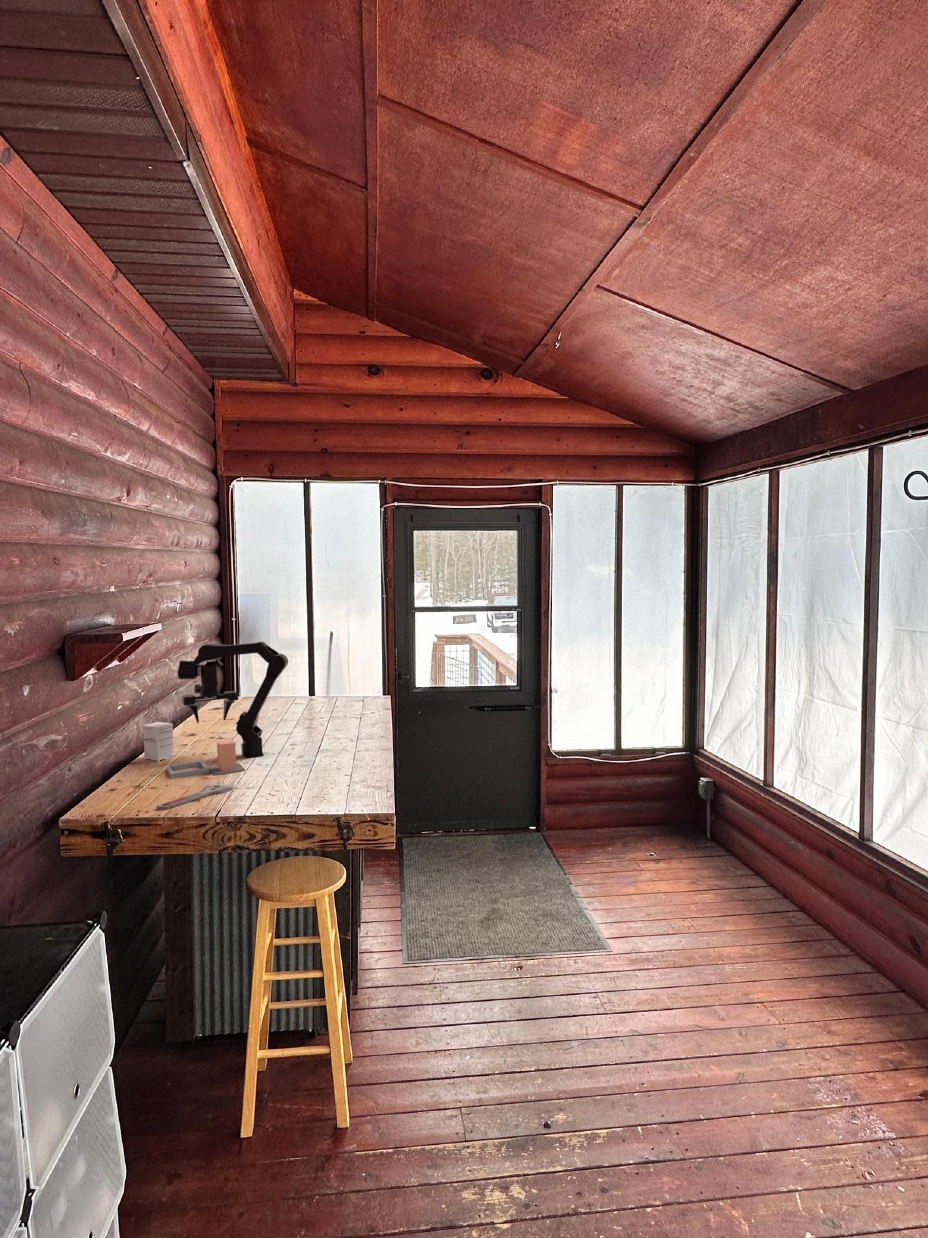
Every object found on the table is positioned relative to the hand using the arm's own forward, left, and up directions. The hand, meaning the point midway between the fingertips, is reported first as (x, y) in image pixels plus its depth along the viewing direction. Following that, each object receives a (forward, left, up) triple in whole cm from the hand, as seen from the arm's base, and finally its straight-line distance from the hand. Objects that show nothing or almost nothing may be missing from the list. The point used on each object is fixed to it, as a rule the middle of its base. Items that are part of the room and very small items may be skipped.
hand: (211, 721), depth 264 cm
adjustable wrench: (+13, +48, -14) cm, 51 cm away
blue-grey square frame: (+11, +16, -13) cm, 23 cm away
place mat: (-1, +21, -13) cm, 25 cm away
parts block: (-1, +21, -13) cm, 25 cm away
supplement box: (+17, -9, -13) cm, 23 cm away
